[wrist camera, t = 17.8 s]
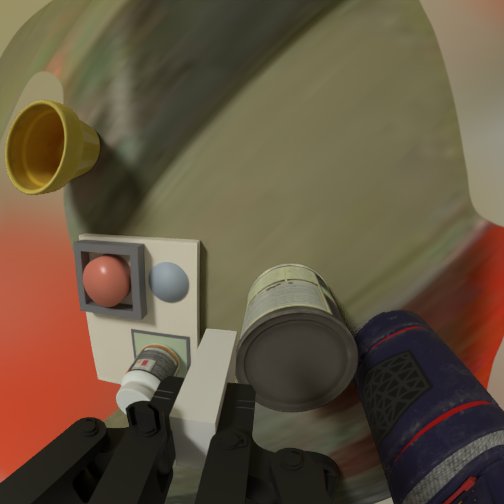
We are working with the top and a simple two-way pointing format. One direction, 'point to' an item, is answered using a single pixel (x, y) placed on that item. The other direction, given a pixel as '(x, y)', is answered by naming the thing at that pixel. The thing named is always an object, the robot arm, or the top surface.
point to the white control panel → (143, 301)
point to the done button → (107, 280)
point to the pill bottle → (147, 374)
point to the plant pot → (49, 148)
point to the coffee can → (294, 341)
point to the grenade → (428, 415)
